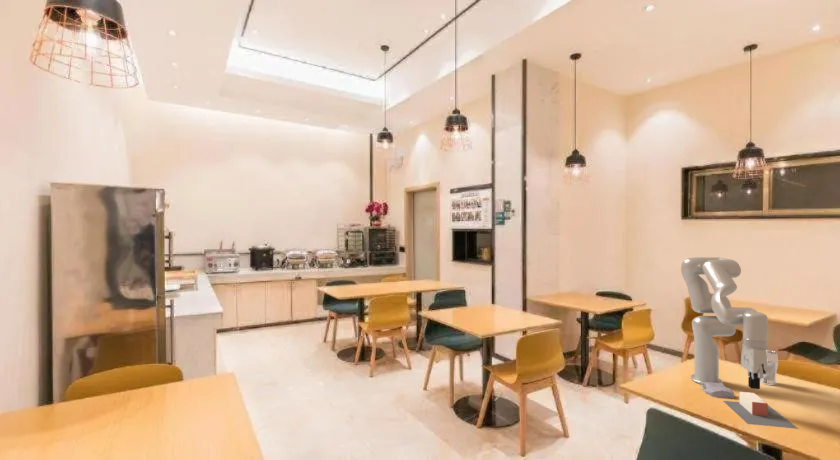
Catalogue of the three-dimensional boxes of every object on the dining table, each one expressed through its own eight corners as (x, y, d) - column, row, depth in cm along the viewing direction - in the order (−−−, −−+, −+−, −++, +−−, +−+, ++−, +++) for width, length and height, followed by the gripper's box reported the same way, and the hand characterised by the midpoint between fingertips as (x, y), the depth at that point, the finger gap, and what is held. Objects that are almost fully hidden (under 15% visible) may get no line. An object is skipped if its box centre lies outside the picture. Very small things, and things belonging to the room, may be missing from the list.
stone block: (712, 403, 174) (737, 400, 172) (709, 392, 174) (734, 389, 172) (698, 393, 185) (722, 389, 184) (696, 382, 186) (719, 379, 184)
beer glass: (776, 381, 191) (776, 350, 190) (779, 387, 185) (779, 355, 184) (757, 379, 194) (757, 348, 194) (760, 384, 188) (760, 352, 188)
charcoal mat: (722, 402, 170) (722, 400, 170) (767, 406, 166) (767, 404, 166) (747, 425, 151) (747, 423, 151) (798, 430, 147) (798, 428, 147)
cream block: (752, 414, 158) (739, 403, 167) (767, 416, 156) (753, 404, 166) (752, 402, 158) (739, 391, 167) (767, 403, 156) (753, 392, 166)
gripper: (734, 336, 168) (733, 379, 169) (753, 348, 154) (753, 395, 155) (755, 337, 166) (754, 381, 167) (777, 349, 152) (776, 397, 153)
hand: (754, 387), depth 161 cm, fingers closed
